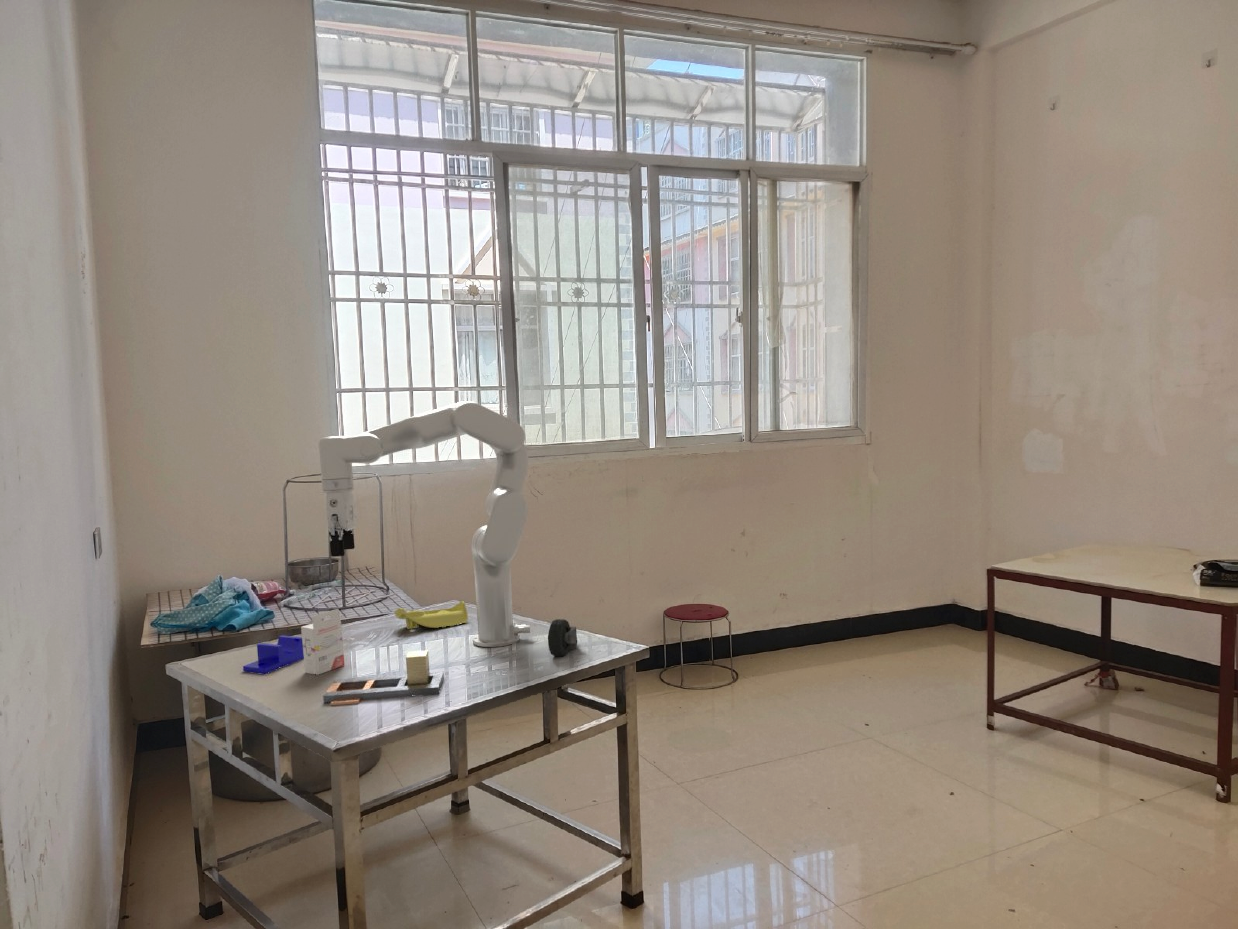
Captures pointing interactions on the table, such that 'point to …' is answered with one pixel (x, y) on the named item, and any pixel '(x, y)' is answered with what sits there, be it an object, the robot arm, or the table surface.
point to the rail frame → (364, 688)
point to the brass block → (417, 668)
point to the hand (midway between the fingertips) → (343, 552)
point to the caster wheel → (561, 637)
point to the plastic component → (434, 617)
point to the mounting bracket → (276, 655)
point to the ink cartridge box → (323, 643)
